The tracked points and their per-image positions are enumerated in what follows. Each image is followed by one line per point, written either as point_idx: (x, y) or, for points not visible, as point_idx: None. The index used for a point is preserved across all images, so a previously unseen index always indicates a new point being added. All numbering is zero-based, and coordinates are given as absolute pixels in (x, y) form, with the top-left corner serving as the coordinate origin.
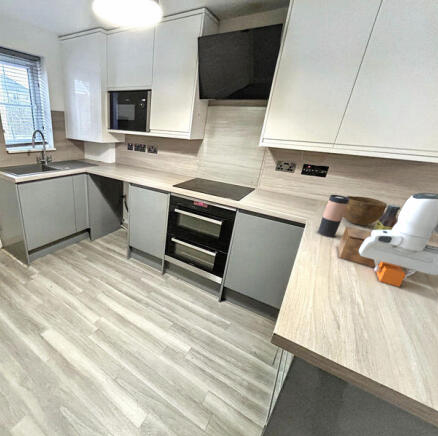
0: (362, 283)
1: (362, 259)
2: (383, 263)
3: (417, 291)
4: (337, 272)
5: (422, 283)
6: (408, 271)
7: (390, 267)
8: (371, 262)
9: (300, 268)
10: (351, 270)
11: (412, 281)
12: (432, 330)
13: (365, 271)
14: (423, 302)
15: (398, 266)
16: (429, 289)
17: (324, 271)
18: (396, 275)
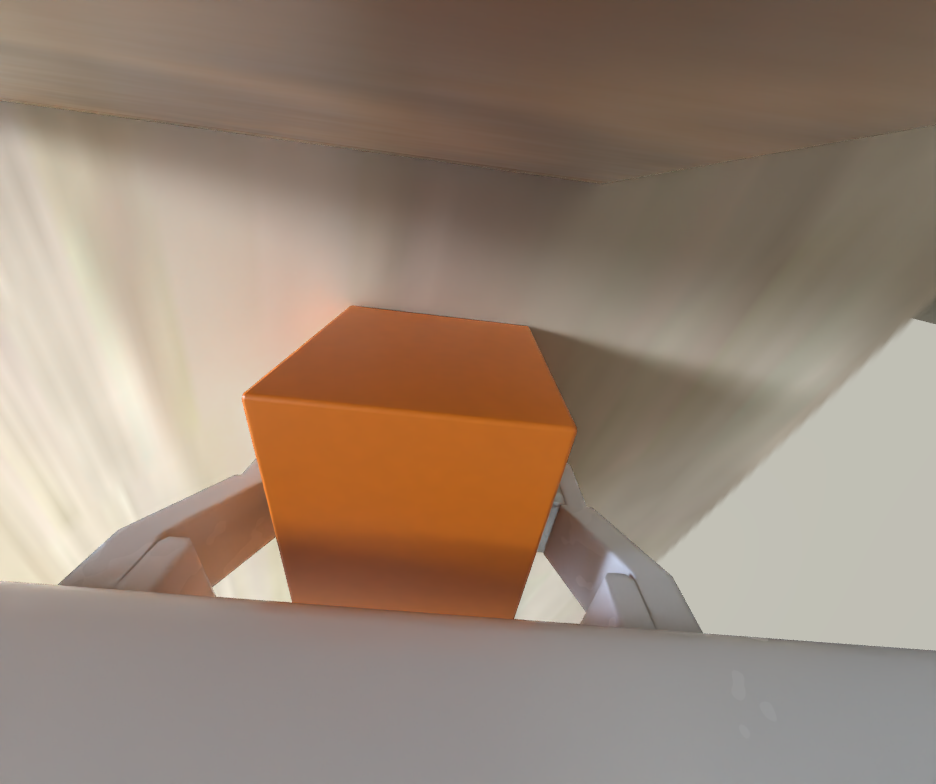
0: (253, 587)
1: (42, 94)
2: (278, 536)
3: (610, 511)
4: (73, 537)
5: (816, 312)
6: (600, 574)
7: (365, 604)
8: (225, 123)
9: None
10: (135, 442)
11: (708, 328)
12: None
13: (247, 381)
14: (560, 610)
15: (510, 512)
16: (773, 423)
17: (7, 567)
18: None
